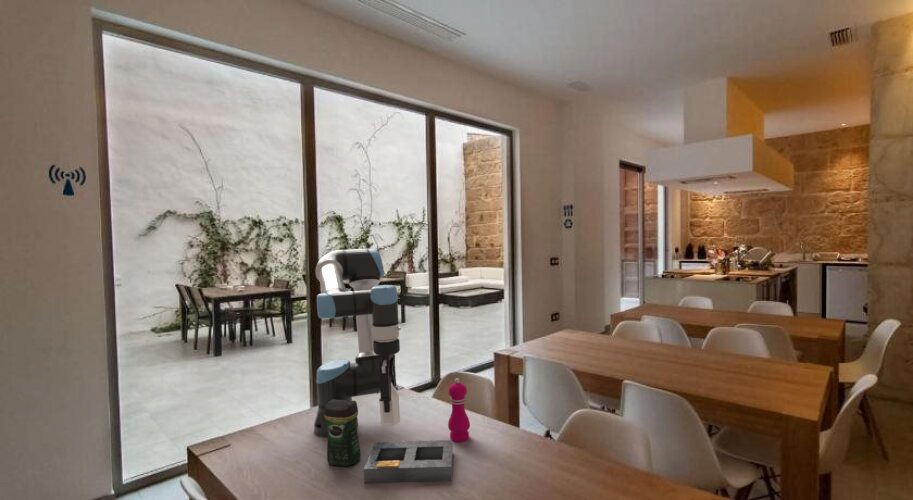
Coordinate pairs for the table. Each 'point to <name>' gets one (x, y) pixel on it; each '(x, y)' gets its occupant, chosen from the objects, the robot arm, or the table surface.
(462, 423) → the pepper mill
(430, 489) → the table surface
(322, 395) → the robot arm
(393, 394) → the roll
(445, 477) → the hole plate
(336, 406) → the coffee jar
